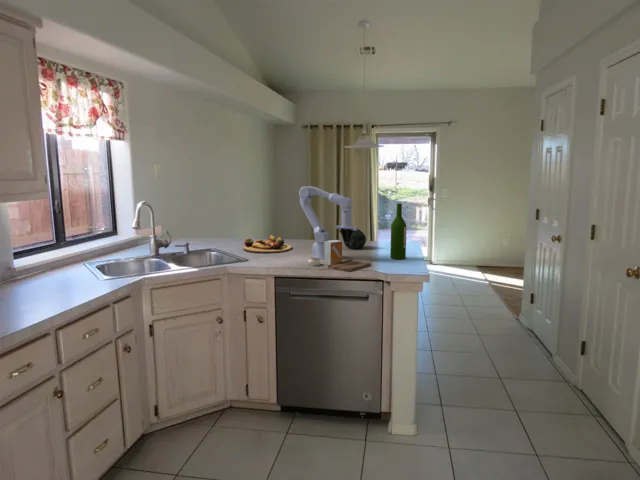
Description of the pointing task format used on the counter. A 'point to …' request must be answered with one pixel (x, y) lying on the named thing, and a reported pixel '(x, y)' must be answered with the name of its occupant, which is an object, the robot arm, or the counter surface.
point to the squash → (356, 240)
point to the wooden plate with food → (266, 246)
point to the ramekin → (313, 261)
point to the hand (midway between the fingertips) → (346, 241)
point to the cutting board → (348, 265)
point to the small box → (333, 252)
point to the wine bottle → (398, 236)
